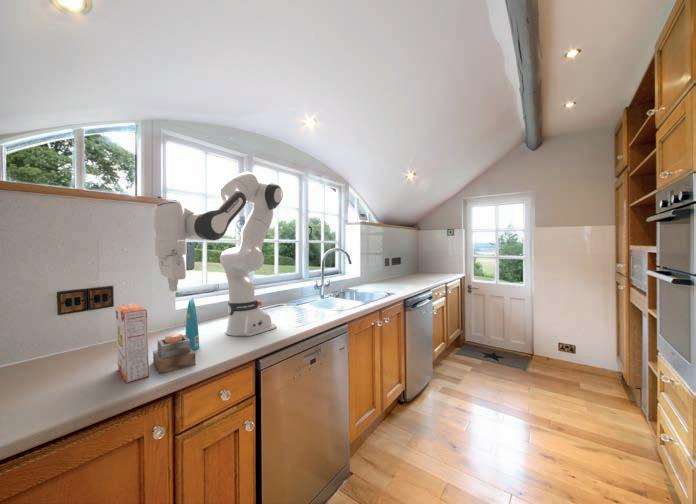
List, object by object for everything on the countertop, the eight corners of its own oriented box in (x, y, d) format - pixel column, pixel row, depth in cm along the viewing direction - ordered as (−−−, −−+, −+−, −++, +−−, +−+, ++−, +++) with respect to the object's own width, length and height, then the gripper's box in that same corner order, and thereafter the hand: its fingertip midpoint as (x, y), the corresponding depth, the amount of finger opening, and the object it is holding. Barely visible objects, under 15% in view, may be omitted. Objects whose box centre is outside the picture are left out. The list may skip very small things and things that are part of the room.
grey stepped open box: (186, 354, 101) (186, 332, 101) (195, 364, 92) (195, 340, 92) (153, 362, 94) (152, 339, 94) (159, 374, 85) (159, 348, 85)
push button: (180, 346, 97) (180, 332, 96) (184, 350, 93) (183, 336, 93) (163, 350, 93) (163, 336, 93) (166, 354, 90) (166, 339, 89)
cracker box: (116, 369, 89) (114, 305, 88) (139, 363, 93) (137, 302, 93) (124, 384, 79) (122, 312, 79) (149, 377, 84) (148, 308, 83)
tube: (186, 346, 109) (185, 298, 109) (200, 344, 111) (199, 297, 111) (183, 353, 102) (183, 301, 102) (198, 351, 104) (197, 300, 104)
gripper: (189, 249, 87) (192, 293, 87) (175, 249, 102) (177, 286, 102) (166, 250, 82) (168, 296, 83) (154, 250, 97) (156, 288, 98)
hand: (173, 290), depth 93 cm, fingers closed
